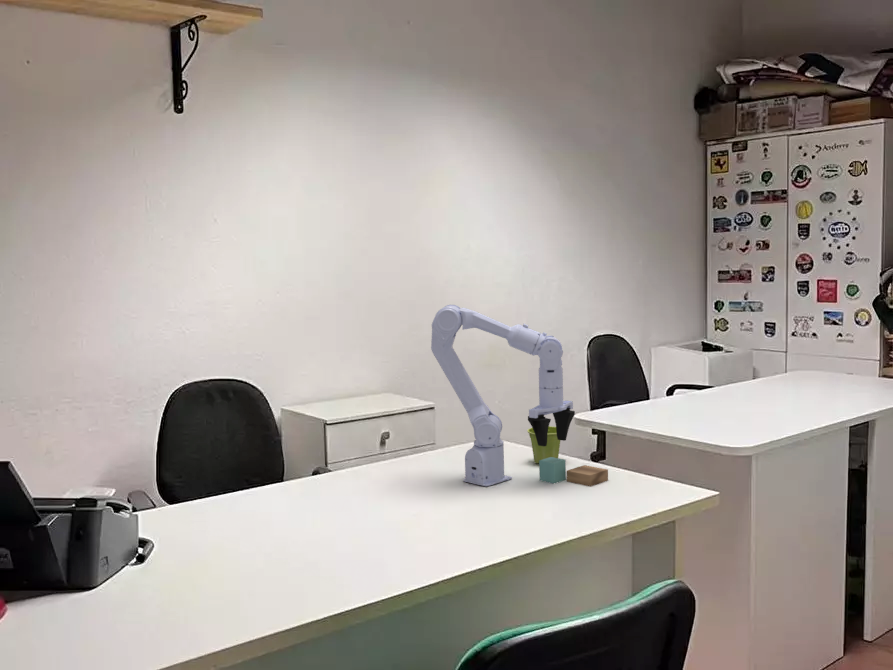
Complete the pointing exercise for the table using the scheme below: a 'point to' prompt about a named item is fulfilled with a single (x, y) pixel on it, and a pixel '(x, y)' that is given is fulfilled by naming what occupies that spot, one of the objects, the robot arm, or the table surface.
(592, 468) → the walnut slab
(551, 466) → the teal cube
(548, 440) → the plant pot
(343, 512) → the table surface
